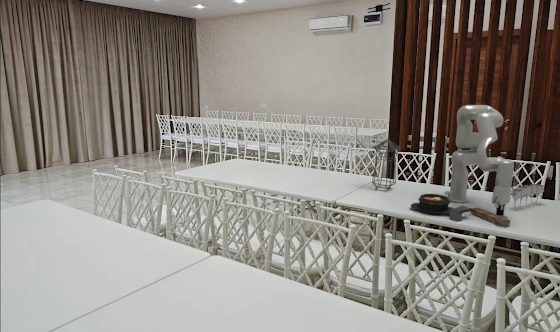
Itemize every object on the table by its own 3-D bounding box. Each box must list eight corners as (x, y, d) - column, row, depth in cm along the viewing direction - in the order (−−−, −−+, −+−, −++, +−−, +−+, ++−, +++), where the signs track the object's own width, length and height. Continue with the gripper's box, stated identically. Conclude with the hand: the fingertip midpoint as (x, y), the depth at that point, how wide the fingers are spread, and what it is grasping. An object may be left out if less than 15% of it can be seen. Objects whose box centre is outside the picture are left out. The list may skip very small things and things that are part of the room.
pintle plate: (491, 224, 205) (491, 223, 205) (499, 221, 209) (499, 221, 209) (505, 228, 200) (505, 227, 199) (512, 225, 203) (512, 225, 203)
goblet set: (516, 211, 227) (519, 189, 224) (506, 209, 232) (509, 187, 229) (543, 204, 240) (546, 183, 237) (534, 202, 245) (536, 181, 242)
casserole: (407, 212, 225) (408, 197, 224) (414, 203, 241) (415, 190, 239) (454, 219, 213) (456, 204, 211) (458, 210, 229) (460, 196, 227)
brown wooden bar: (509, 224, 203) (510, 217, 202) (501, 225, 201) (502, 218, 201) (477, 211, 224) (477, 205, 223) (469, 212, 223) (470, 205, 222)
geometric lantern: (376, 185, 285) (380, 137, 278) (398, 189, 276) (403, 139, 269) (368, 189, 273) (372, 139, 266) (390, 193, 264) (394, 141, 257)
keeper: (449, 218, 214) (450, 209, 212) (462, 215, 220) (463, 205, 219) (457, 221, 209) (458, 211, 208) (470, 217, 216) (471, 208, 214)
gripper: (503, 180, 217) (500, 212, 220) (488, 183, 209) (485, 216, 212) (518, 182, 211) (514, 215, 214) (503, 186, 203) (499, 220, 206)
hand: (499, 216), depth 213 cm, fingers closed
